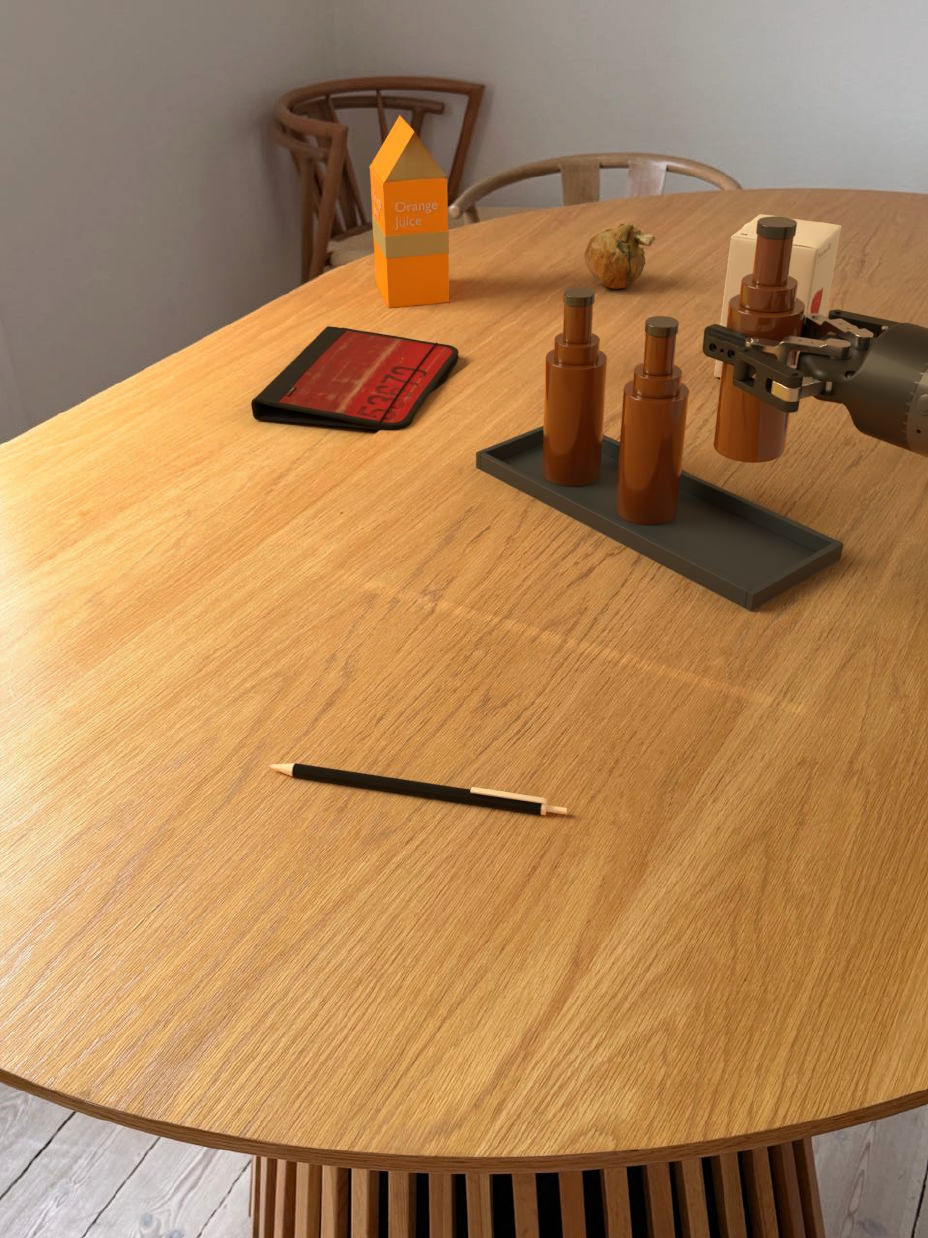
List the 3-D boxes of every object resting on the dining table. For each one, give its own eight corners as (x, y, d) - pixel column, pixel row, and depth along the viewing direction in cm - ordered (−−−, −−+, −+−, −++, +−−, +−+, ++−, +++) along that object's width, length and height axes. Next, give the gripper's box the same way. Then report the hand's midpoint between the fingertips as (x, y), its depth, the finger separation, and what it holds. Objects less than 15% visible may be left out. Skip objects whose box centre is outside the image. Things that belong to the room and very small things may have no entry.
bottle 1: (609, 467, 110) (621, 287, 100) (586, 492, 106) (595, 307, 96) (557, 455, 112) (563, 277, 102) (532, 479, 108) (536, 296, 98)
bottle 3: (792, 440, 91) (826, 216, 82) (772, 468, 87) (805, 236, 78) (726, 427, 93) (751, 207, 84) (703, 454, 89) (727, 226, 80)
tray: (839, 565, 96) (843, 542, 95) (750, 618, 90) (753, 594, 89) (564, 436, 116) (564, 416, 115) (475, 472, 110) (475, 452, 109)
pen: (565, 821, 73) (566, 807, 72) (266, 776, 77) (265, 762, 76) (567, 812, 74) (568, 798, 73) (271, 767, 77) (270, 753, 77)
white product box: (795, 395, 124) (818, 248, 115) (711, 378, 127) (727, 234, 119) (821, 364, 130) (844, 223, 122) (740, 349, 134) (757, 211, 125)
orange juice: (387, 307, 146) (379, 132, 134) (374, 284, 153) (365, 115, 141) (451, 302, 147) (448, 127, 136) (435, 278, 154) (431, 111, 143)
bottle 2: (685, 503, 104) (705, 316, 94) (664, 530, 100) (682, 338, 91) (629, 490, 106) (642, 305, 97) (605, 516, 102) (617, 326, 93)
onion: (632, 272, 156) (636, 208, 151) (653, 292, 149) (658, 227, 145) (575, 276, 154) (578, 213, 150) (594, 297, 148) (597, 231, 143)
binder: (249, 398, 118) (325, 323, 135) (251, 420, 120) (326, 343, 136) (406, 421, 115) (464, 341, 132) (406, 443, 117) (463, 362, 133)
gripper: (869, 487, 75) (661, 404, 86) (992, 421, 82) (787, 351, 93) (891, 372, 71) (670, 300, 81) (1018, 313, 78) (801, 254, 89)
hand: (734, 328), depth 87 cm, fingers closed on bottle 3, 5 cm apart
